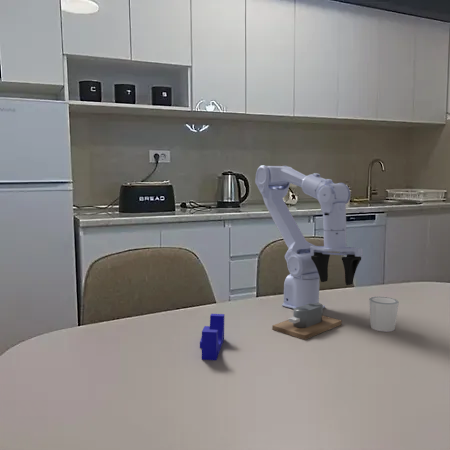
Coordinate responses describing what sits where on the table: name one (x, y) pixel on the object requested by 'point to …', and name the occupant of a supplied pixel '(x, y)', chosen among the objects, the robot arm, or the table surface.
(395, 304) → the white cup
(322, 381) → the table surface
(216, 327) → the cable clip
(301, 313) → the connector plug
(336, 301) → the table surface
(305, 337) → the walnut board
